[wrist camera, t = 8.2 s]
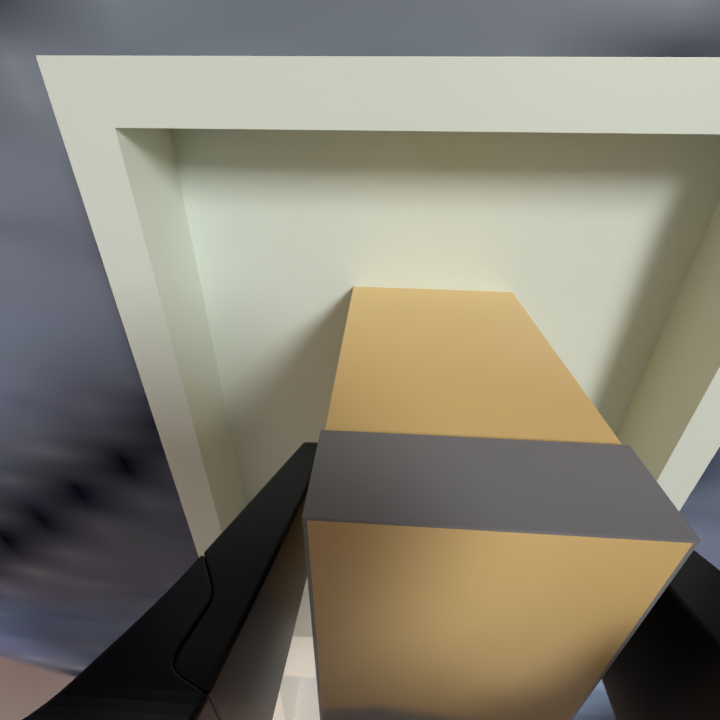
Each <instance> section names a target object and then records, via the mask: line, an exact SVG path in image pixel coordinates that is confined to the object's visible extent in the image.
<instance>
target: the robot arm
mask: <svg viewBox="0 0 720 720" xmlns="http://www.w3.org/2000/svg"><path fill="white" fill-rule="evenodd" d="M317 444H318V442H304V443H303V444H302V445H301V446H300V447H299V448H298V449H297V450H296V451H295V453H294V454H293V455H292V456H291V457H290V458H289V459H288V460H287V461H286V462H285V464H284V465H283V466H282V467H281V468H280V469H279V470H278V471H277V472H276V474H275V475H274V476H273V477H272V478H271V479H270V480H269V481H268V482H267V483H266V485H265V486H264V487H263V488H262V489H261V490H260V491H259V492H258V493H257V495H256V496H255V497H254V498H253V499H252V500H251V501H250V502H249V503H248V504H247V506H246V507H245V508H244V509H243V510H242V511H241V512H240V513H239V514H238V516H237V517H236V518H235V519H234V520H233V521H232V522H231V523H230V524H229V525H228V527H227V528H226V529H225V530H224V531H223V532H222V533H221V534H220V535H219V536H218V538H217V539H216V540H215V541H214V542H213V543H212V544H211V545H210V546H209V548H208V549H207V550H206V551H205V552H204V556H205V557H204V556H203V555H201V556H200V557H199V558H198V559H197V561H196V562H195V563H194V564H193V565H192V566H191V567H190V568H189V569H188V570H187V572H186V573H185V574H184V575H183V576H182V577H181V578H180V579H179V580H178V581H177V582H176V583H175V584H174V585H173V586H172V587H171V588H170V589H169V590H168V592H167V593H166V594H165V595H164V596H163V597H161V598H160V599H159V600H158V601H157V602H156V603H155V604H154V605H153V606H152V607H151V608H150V609H149V610H148V611H147V612H146V613H145V614H144V615H143V616H142V617H141V618H140V619H139V620H138V621H136V622H135V623H134V624H133V625H132V626H131V627H130V628H129V629H128V630H127V631H126V632H125V633H123V634H122V635H121V636H120V637H119V638H118V639H117V640H116V641H115V642H114V643H113V644H112V645H111V646H109V647H108V648H107V649H106V650H105V651H104V652H103V653H102V654H101V655H100V656H99V657H98V658H96V659H95V660H94V661H93V662H92V663H91V664H90V665H89V666H88V667H87V668H86V669H85V670H83V671H82V672H81V673H80V674H79V675H78V676H77V677H76V678H75V679H74V680H73V681H72V682H71V683H69V684H68V685H67V686H66V687H65V688H64V689H63V690H61V692H59V693H58V694H57V695H55V696H54V697H53V698H52V699H50V700H49V701H48V702H47V703H46V704H44V705H43V706H41V707H40V708H39V709H37V710H36V711H34V712H33V713H32V714H30V715H29V716H27V717H25V718H24V719H22V720H272V719H273V715H274V711H275V707H276V702H277V698H278V694H279V690H280V686H281V682H282V678H283V674H284V669H285V665H286V661H287V657H288V653H289V649H290V645H291V641H292V636H293V632H294V628H295V624H296V620H297V616H298V612H299V608H300V604H301V599H302V595H303V591H304V587H305V583H306V579H307V567H306V556H305V545H304V534H303V522H302V515H303V510H304V505H305V501H306V496H307V491H308V487H309V482H310V477H311V472H312V468H313V463H314V458H315V454H316V449H317ZM602 681H603V684H604V686H605V689H606V692H607V695H608V698H609V701H610V703H611V706H612V709H613V712H614V715H615V718H616V720H720V570H718V569H717V568H716V567H714V566H713V565H712V564H711V563H709V562H708V561H707V560H706V559H704V558H703V557H702V556H701V555H699V554H698V553H697V552H695V551H694V550H693V552H692V553H691V554H690V556H689V557H688V559H687V560H686V561H685V563H684V564H683V566H682V567H681V568H680V570H679V571H678V573H677V574H676V575H675V577H674V578H673V580H672V581H671V582H670V584H669V585H668V587H667V588H666V589H665V591H664V592H663V593H662V595H661V596H660V598H659V599H658V600H657V602H656V603H655V605H654V606H653V607H652V609H651V610H650V612H649V613H648V614H647V616H646V617H645V619H644V620H643V621H642V623H641V624H640V626H639V627H638V628H637V630H636V631H635V633H634V634H633V635H632V637H631V638H630V640H629V641H628V642H627V644H626V645H625V647H624V648H623V649H622V651H621V652H620V654H619V655H618V656H617V658H616V659H615V660H614V662H613V663H612V665H611V666H610V667H609V669H608V670H607V672H606V673H605V674H604V676H603V677H602Z"/></svg>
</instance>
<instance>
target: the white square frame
mask: <svg viewBox="0 0 720 720" xmlns="http://www.w3.org/2000/svg"><path fill="white" fill-rule="evenodd" d="M272 720H320V714H319V702H318V691H317V680H316V669H315V657H314V646H313V635H312V624H311V612H310V601H309V592H303V595H302V599H301V604H300V608H299V612H298V616H297V620H296V624H295V628H294V632H293V636H292V641H291V645H290V649H289V653H288V657H287V661H286V665H285V669H284V674H283V678H282V682H281V686H280V690H279V694H278V698H277V702H276V707H275V711H274V715H273V719H272Z"/></svg>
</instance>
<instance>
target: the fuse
mask: <svg viewBox="0 0 720 720" xmlns="http://www.w3.org/2000/svg"><path fill="white" fill-rule="evenodd" d="M302 522H303V534H304V545H305V556H306V567H307V579H308V590H309V601H310V612H311V624H312V635H313V646H314V657H315V669H316V680H317V691H318V702H319V714H320V720H572V719H573V718H574V716H575V715H576V714H577V712H578V711H579V709H580V708H581V707H582V705H583V704H584V702H585V701H586V700H587V698H588V697H589V695H590V694H591V693H592V691H593V690H594V688H595V687H596V686H597V684H598V683H599V681H600V680H601V679H602V677H603V676H604V674H605V673H606V672H607V670H608V669H609V667H610V666H611V665H612V663H613V662H614V660H615V659H616V658H617V656H618V655H619V654H620V652H621V651H622V649H623V648H624V647H625V645H626V644H627V642H628V641H629V640H630V638H631V637H632V635H633V634H634V633H635V631H636V630H637V628H638V627H639V626H640V624H641V623H642V621H643V620H644V619H645V617H646V616H647V614H648V613H649V612H650V610H651V609H652V607H653V606H654V605H655V603H656V602H657V600H658V599H659V598H660V596H661V595H662V593H663V592H664V591H665V589H666V588H667V587H668V585H669V584H670V582H671V581H672V580H673V578H674V577H675V575H676V574H677V573H678V571H679V570H680V568H681V567H682V566H683V564H684V563H685V561H686V560H687V559H688V557H689V556H690V554H691V553H692V552H693V550H694V549H695V547H696V546H697V545H698V543H699V542H700V539H699V538H698V536H697V535H696V534H695V532H694V531H693V530H692V528H691V527H690V526H689V524H688V523H687V522H686V520H685V519H684V518H683V516H682V515H681V514H680V512H679V511H678V509H677V508H676V507H675V505H674V504H673V503H672V501H671V500H670V499H669V497H668V496H667V495H666V493H665V492H664V491H663V489H662V488H661V487H660V485H659V484H658V483H657V481H656V480H655V478H654V477H653V476H652V474H651V473H650V472H649V470H648V469H647V468H646V466H645V465H644V464H643V462H642V461H641V460H640V458H639V457H638V456H637V454H636V453H635V452H634V450H633V449H632V448H631V446H630V445H622V444H621V442H620V441H619V439H618V438H617V437H616V435H615V434H614V433H613V431H612V430H611V428H610V427H609V426H608V424H607V423H606V421H605V420H604V419H603V417H602V416H601V414H600V413H599V412H598V410H597V409H596V408H595V406H594V405H593V403H592V402H591V401H590V399H589V398H588V396H587V395H586V394H585V392H584V391H583V389H582V388H581V387H580V385H579V384H578V383H577V381H576V380H575V378H574V377H573V376H572V374H571V373H570V371H569V370H568V369H567V367H566V366H565V365H564V363H563V362H562V360H561V359H560V358H559V356H558V355H557V353H556V352H555V351H554V349H553V348H552V346H551V345H550V344H549V342H548V341H547V340H546V338H545V337H544V335H543V334H542V333H541V331H540V330H539V328H538V327H537V326H536V324H535V323H534V322H533V320H532V319H531V317H530V316H529V315H528V313H527V312H526V310H525V309H524V308H523V306H522V305H521V303H520V302H519V301H518V299H517V298H516V297H515V295H514V294H513V292H497V291H469V290H440V289H412V288H384V287H355V286H353V291H352V296H351V301H350V306H349V311H348V316H347V321H346V326H345V331H344V336H343V341H342V346H341V351H340V356H339V362H338V367H337V372H336V377H335V382H334V387H333V392H332V397H331V402H330V407H329V412H328V417H327V422H326V427H325V430H320V435H319V440H318V444H317V449H316V454H315V458H314V463H313V468H312V472H311V477H310V482H309V487H308V491H307V496H306V501H305V505H304V510H303V515H302Z"/></svg>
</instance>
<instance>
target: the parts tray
mask: <svg viewBox="0 0 720 720" xmlns="http://www.w3.org/2000/svg"><path fill="white" fill-rule="evenodd" d="M36 58H37V61H38V64H39V67H40V70H41V73H42V76H43V79H44V82H45V86H46V89H47V92H48V95H49V98H50V101H51V104H52V107H53V110H54V113H55V116H56V119H57V122H58V126H59V129H60V132H61V135H62V138H63V141H64V144H65V147H66V150H67V153H68V156H69V159H70V162H71V166H72V169H73V172H74V175H75V178H76V181H77V184H78V187H79V190H80V193H81V196H82V199H83V202H84V206H85V209H86V212H87V215H88V218H89V221H90V224H91V227H92V230H93V233H94V236H95V239H96V242H97V246H98V249H99V252H100V255H101V258H102V261H103V264H104V267H105V270H106V273H107V276H108V279H109V282H110V286H111V289H112V292H113V295H114V298H115V301H116V304H117V307H118V310H119V313H120V316H121V319H122V322H123V326H124V329H125V332H126V335H127V338H128V341H129V344H130V347H131V350H132V353H133V356H134V359H135V362H136V366H137V369H138V372H139V375H140V378H141V381H142V384H143V387H144V390H145V393H146V396H147V399H148V402H149V406H150V409H151V412H152V415H153V418H154V421H155V424H156V427H157V430H158V433H159V436H160V439H161V442H162V446H163V449H164V452H165V455H166V458H167V461H168V464H169V467H170V470H171V473H172V476H173V479H174V482H175V486H176V489H177V492H178V495H179V498H180V501H181V504H182V507H183V510H184V513H185V516H186V519H187V522H188V525H189V529H190V532H191V535H192V538H193V541H194V544H195V547H196V550H197V553H198V556H199V557H200V556H201V555H203V556H204V552H205V551H206V550H207V549H208V548H209V546H210V545H211V544H212V543H213V542H214V541H215V540H216V539H217V538H218V536H219V535H220V534H221V533H222V532H223V531H224V530H225V529H226V528H227V527H228V525H229V524H230V523H231V522H232V521H233V520H234V519H235V518H236V517H237V516H238V514H239V513H240V512H241V511H242V510H243V509H244V508H245V507H246V506H247V504H248V503H249V502H250V501H251V500H252V499H253V498H254V497H255V496H256V495H257V493H258V492H259V491H260V490H261V489H262V488H263V487H264V486H265V485H266V483H267V482H268V481H269V480H270V479H271V478H272V477H273V476H274V475H275V474H276V472H277V471H278V470H279V469H280V468H281V467H282V466H283V465H284V464H285V462H286V461H287V460H288V459H289V458H290V457H291V456H292V455H293V454H294V453H295V451H296V450H297V449H298V448H299V447H300V446H301V445H302V444H303V443H304V442H318V440H319V435H320V430H325V427H326V422H327V417H328V412H329V407H330V402H331V397H332V392H333V387H334V382H335V377H336V372H337V367H338V362H339V356H340V351H341V346H342V341H343V336H344V331H345V326H346V321H347V316H348V311H349V306H350V301H351V296H352V291H353V286H355V287H384V288H412V289H440V290H469V291H497V292H513V294H514V295H515V297H516V298H517V299H518V301H519V302H520V303H521V305H522V306H523V308H524V309H525V310H526V312H527V313H528V315H529V316H530V317H531V319H532V320H533V322H534V323H535V324H536V326H537V327H538V328H539V330H540V331H541V333H542V334H543V335H544V337H545V338H546V340H547V341H548V342H549V344H550V345H551V346H552V348H553V349H554V351H555V352H556V353H557V355H558V356H559V358H560V359H561V360H562V362H563V363H564V365H565V366H566V367H567V369H568V370H569V371H570V373H571V374H572V376H573V377H574V378H575V380H576V381H577V383H578V384H579V385H580V387H581V388H582V389H583V391H584V392H585V394H586V395H587V396H588V398H589V399H590V401H591V402H592V403H593V405H594V406H595V408H596V409H597V410H598V412H599V413H600V414H601V416H602V417H603V419H604V420H605V421H606V423H607V424H608V426H609V427H610V428H611V430H612V431H613V433H614V434H615V435H616V437H617V438H618V439H619V441H620V442H621V444H622V445H630V446H631V448H632V449H633V450H634V452H635V453H636V454H637V456H638V457H639V458H640V460H641V461H642V462H643V464H644V465H645V466H646V468H647V469H648V470H649V472H650V473H651V474H652V476H653V477H654V478H655V480H656V481H657V483H658V484H659V485H660V487H661V488H662V489H663V491H664V492H665V493H666V495H667V496H668V497H669V499H670V500H671V501H672V503H673V504H674V505H675V507H676V508H677V509H678V511H680V509H681V508H682V506H683V504H684V503H685V501H686V500H687V498H688V496H689V495H690V493H691V492H692V490H693V488H694V487H695V485H696V484H697V482H698V480H699V479H700V477H701V476H702V474H703V472H704V471H705V469H706V468H707V466H708V464H709V463H710V461H711V460H712V458H713V456H714V455H715V453H716V452H717V450H718V448H719V447H720V57H402V56H38V55H36ZM204 557H205V556H204ZM303 592H309V590H308V579H306V583H305V587H304V591H303Z"/></svg>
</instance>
